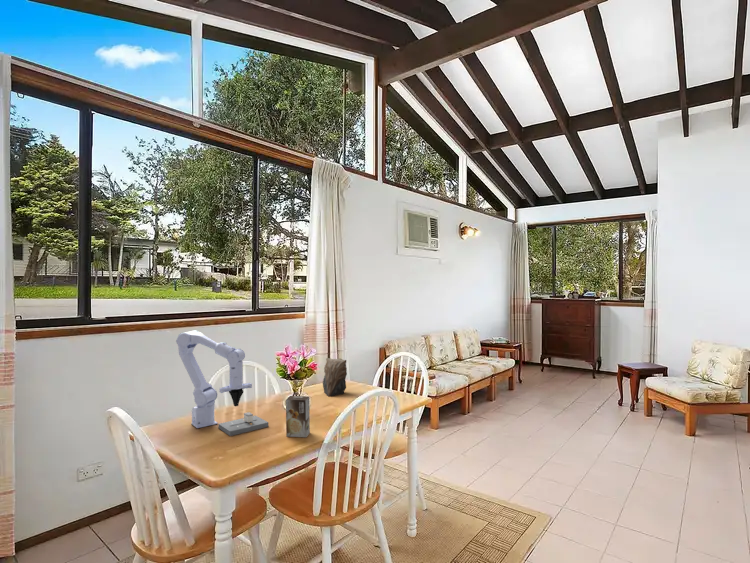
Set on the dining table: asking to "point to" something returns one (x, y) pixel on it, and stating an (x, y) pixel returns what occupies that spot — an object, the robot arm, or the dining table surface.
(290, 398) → the coffee box
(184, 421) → the dining table surface
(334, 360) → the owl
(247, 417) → the fader tab
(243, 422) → the console
